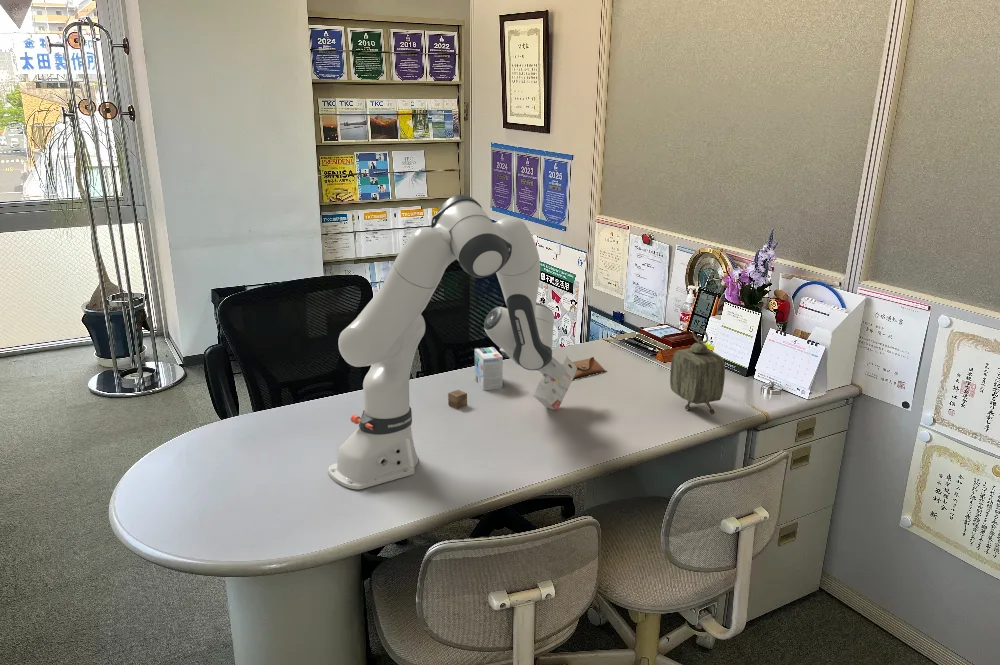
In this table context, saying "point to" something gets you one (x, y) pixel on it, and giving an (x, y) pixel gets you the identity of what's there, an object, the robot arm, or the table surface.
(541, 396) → the ink cartridge box
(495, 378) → the light bulb box
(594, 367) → the sunglasses case
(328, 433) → the table surface
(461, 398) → the walnut block
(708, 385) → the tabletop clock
